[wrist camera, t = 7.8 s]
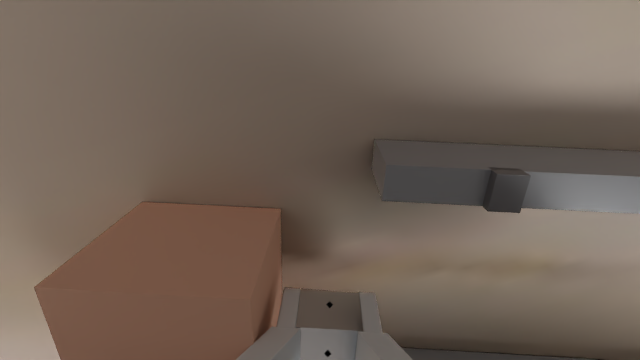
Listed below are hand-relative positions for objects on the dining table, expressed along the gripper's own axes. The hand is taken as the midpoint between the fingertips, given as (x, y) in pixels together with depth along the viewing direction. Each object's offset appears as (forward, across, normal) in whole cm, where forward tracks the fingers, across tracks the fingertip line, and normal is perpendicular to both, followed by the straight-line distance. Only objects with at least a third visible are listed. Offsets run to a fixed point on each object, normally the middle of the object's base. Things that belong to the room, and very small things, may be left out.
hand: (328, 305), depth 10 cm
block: (+2, +4, 0) cm, 5 cm away
